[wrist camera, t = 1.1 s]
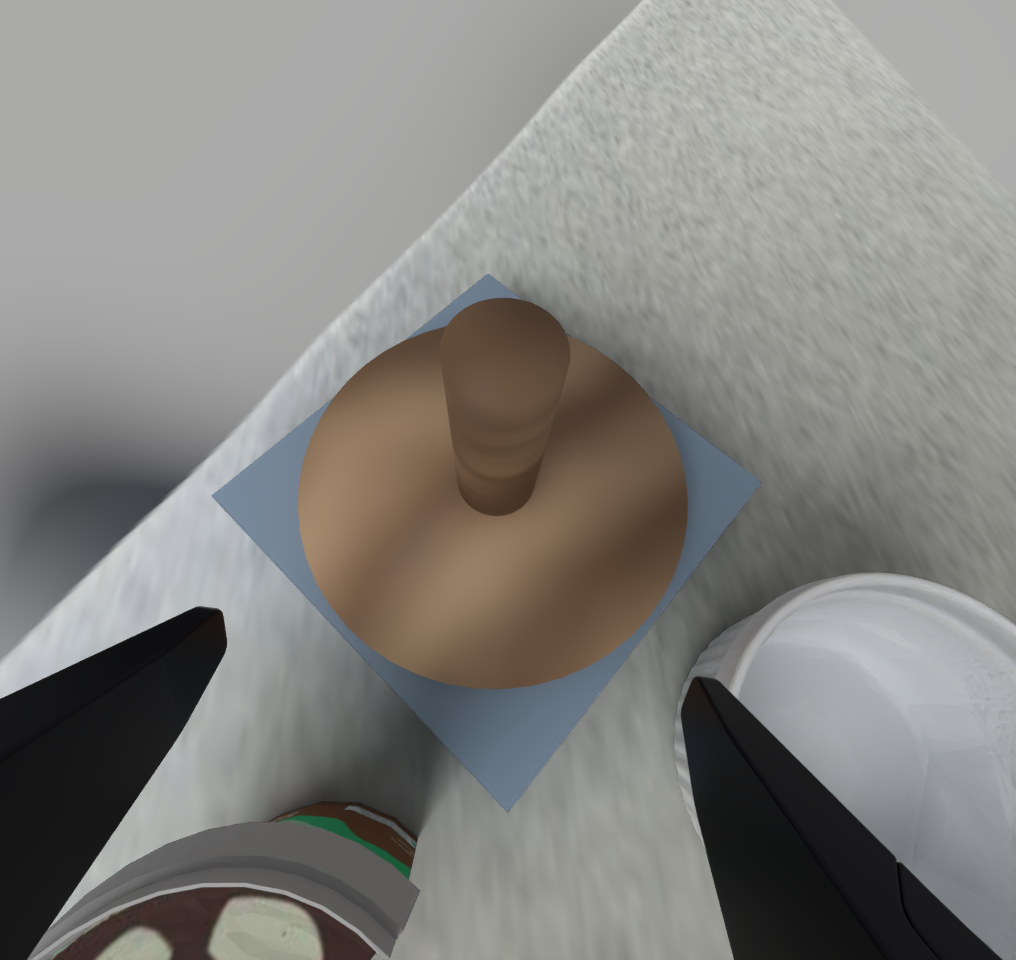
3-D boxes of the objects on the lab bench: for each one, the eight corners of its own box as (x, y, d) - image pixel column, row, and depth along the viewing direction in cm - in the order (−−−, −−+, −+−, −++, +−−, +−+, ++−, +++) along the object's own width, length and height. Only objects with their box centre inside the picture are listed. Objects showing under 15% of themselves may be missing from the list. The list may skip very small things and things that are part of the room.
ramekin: (715, 545, 24) (800, 501, 17) (982, 694, 22) (1190, 705, 15) (594, 820, 20) (648, 897, 13) (914, 1035, 18) (1164, 1251, 11)
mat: (730, 502, 25) (761, 481, 22) (504, 791, 20) (507, 812, 17) (487, 312, 28) (487, 273, 25) (244, 516, 23) (211, 496, 20)
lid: (746, 482, 22) (942, 346, 12) (507, 789, 17) (534, 939, 8) (488, 284, 25) (490, 60, 16) (229, 495, 20) (15, 354, 11)
